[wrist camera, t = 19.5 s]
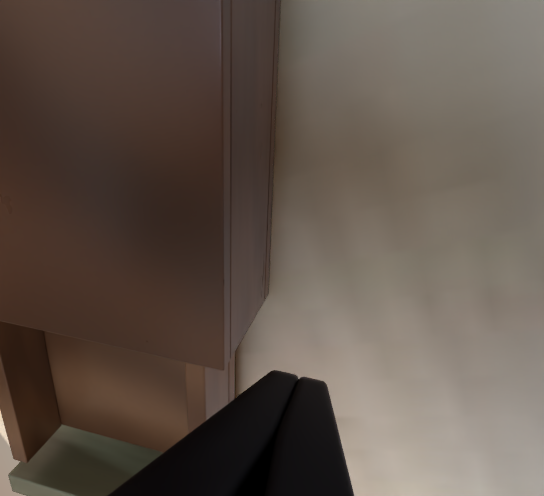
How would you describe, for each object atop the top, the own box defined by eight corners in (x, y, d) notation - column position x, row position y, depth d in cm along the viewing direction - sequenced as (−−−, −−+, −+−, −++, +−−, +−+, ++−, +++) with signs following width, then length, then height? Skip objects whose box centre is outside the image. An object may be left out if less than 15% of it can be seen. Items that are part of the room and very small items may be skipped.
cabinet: (268, 294, 20) (224, 371, 15) (25, 250, 23) (-73, 305, 18) (284, -81, 14) (221, -133, 10) (-41, -77, 17) (-206, -116, 13)
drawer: (244, 538, 26) (219, 608, 23) (69, 484, 28) (25, 541, 25) (249, 277, 19) (215, 327, 16) (19, 238, 22) (-50, 273, 18)
